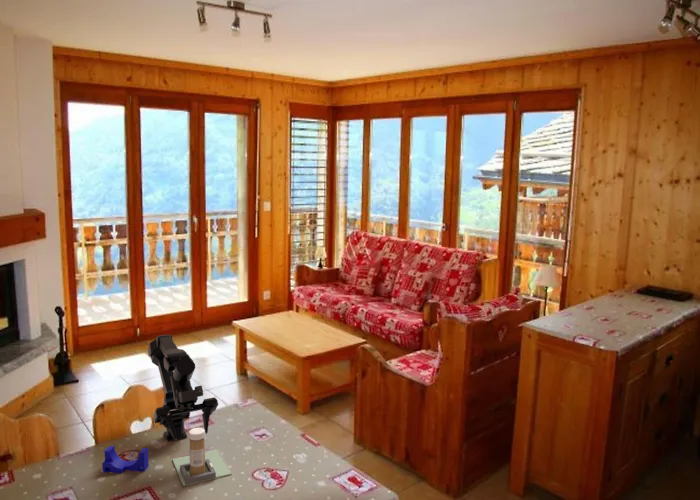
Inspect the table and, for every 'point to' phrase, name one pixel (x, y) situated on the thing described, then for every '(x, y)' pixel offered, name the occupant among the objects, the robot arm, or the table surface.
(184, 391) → the robot arm
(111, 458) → the cable clip
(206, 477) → the board
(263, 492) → the table surface
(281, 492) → the table surface
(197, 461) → the sprinkles bottle
